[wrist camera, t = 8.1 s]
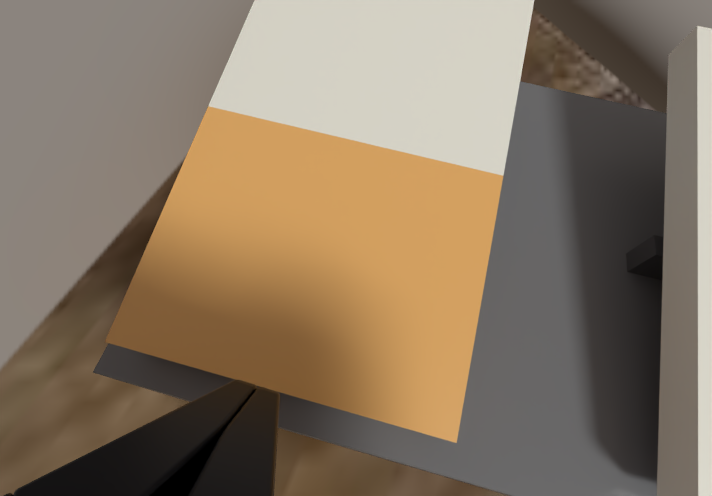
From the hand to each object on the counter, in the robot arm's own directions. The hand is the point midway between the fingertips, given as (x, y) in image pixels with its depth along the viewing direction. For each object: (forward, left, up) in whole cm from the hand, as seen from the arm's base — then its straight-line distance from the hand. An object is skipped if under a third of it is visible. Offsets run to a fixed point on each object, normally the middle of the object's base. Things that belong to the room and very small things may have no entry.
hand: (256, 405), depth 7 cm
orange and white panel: (+8, -3, -3) cm, 9 cm away
